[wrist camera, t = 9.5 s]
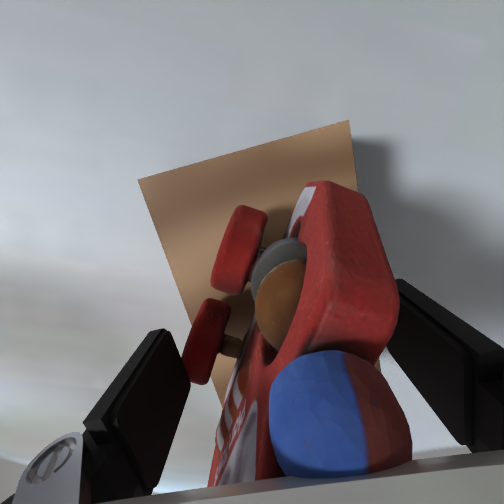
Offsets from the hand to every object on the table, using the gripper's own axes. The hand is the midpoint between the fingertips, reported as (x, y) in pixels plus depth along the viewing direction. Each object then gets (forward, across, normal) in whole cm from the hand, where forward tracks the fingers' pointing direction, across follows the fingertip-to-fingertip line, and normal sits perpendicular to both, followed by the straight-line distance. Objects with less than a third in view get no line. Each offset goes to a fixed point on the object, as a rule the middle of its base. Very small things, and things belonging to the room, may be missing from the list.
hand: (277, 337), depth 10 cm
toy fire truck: (+4, 0, 0) cm, 4 cm away
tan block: (+8, 0, 0) cm, 8 cm away
